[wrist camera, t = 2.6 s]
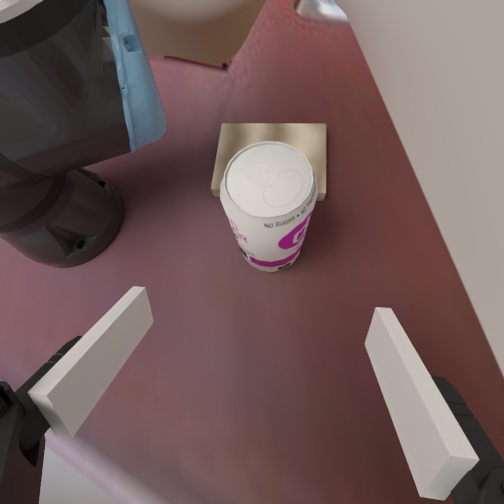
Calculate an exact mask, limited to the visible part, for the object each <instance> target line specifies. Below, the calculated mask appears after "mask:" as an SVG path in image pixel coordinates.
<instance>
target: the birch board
mask: <svg viewBox="0 0 504 504" xmlns="http://www.w3.org/2000/svg"><path fill="white" fill-rule="evenodd" d="M264 141H274V142H282V143H285V144H288V145H290V146H293V147H295V148H296V149H297V150H299V151H300V152H301V153H302V154H304V155H305V156H306V158H307V160H308V162H309V163H310V165H311V167H312V171H313V172H314V174H315V176H316V178H317V186H318V195H317V198H316V201H323V200H324V198H325V195H326V124H297V123H222V126H221V132H220V138H219V144H218V149H217V155H216V161H215V167H214V173H213V178H212V184H211V191H212V193H213V196H214V197H220V184H221V182H222V179H223V177H224V172H225V170H226V168H227V165H228V163H229V161H230V160H231V159H232V158H233V157H234V156H235V155H236V154H237V153H238V152H239V151H240V150H242V149H244V148H246V147H247V146H249V145H251V144H255V143H259V142H264Z"/></svg>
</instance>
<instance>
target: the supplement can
mask: <svg viewBox="0 0 504 504" xmlns="http://www.w3.org/2000/svg"><path fill="white" fill-rule="evenodd" d="M317 195H318V186H317V178H316V176H315V174H314V172H313V171H312V167H311V165H310V163H309V162H308V160H307V158H306V156H305V155H304V154H302V153H301V152H300V151H299V150H297V149H296V148H295V147H293V146H290V145H288V144H285V143H282V142H274V141H264V142H259V143H255V144H251V145H249V146H247V147H246V148H244V149H242V150H240V151H239V152H238V153H237V154H236V155H235V156H234V157H233V158H232V159H231V160H230V161H229V163H228V165H227V168H226V170H225V172H224V177H223V179H222V182H221V184H220V200H221V202H222V205H223V208H224V210H225V213H226V215H227V217H228V220H229V222H230V225H231V227H232V230H233V232H234V235H235V237H236V239H237V242H238V244H239V247H240V249H241V252H242V254H243V256H244V258H245V259H246V261H247V262H248V263H249V264H250V265H251V266H253V267H255V268H257V269H259V270H261V271H267V272H275V271H279V270H283V269H285V268H286V267H288V266H290V265H291V264H293V262H294V261H295V260H296V258H297V257H298V256H299V253H300V250H301V247H302V243H303V240H304V237H305V234H306V231H307V228H308V224H309V221H310V218H311V215H312V212H313V208H314V205H315V202H316V198H317Z"/></svg>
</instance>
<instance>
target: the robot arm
mask: <svg viewBox="0 0 504 504" xmlns="http://www.w3.org/2000/svg"><path fill="white" fill-rule="evenodd" d="M166 128H167V121H166V116H165V112H164V109H163V105H162V102H161V98H160V95H159V92H158V88H157V85H156V82H155V79H154V75H153V72H152V69H151V66H150V63H149V60H148V57H147V54H146V51H145V47H144V44H143V41H142V38H141V35H140V32H139V29H138V26H137V23H136V20H135V17H134V14H133V11H132V8H131V6H130V3H129V0H0V237H1V238H2V239H4V240H5V241H6V242H8V243H9V244H10V245H12V246H13V247H14V248H16V249H17V250H18V251H20V252H21V253H22V254H24V255H25V256H26V257H28V258H30V259H32V260H34V261H36V262H39V263H43V264H46V265H49V266H53V267H71V266H75V265H79V264H81V263H84V262H86V261H88V260H90V259H92V258H93V257H95V256H96V255H98V254H99V253H100V252H101V251H103V250H104V249H105V248H106V247H107V246H108V244H109V243H110V242H111V241H112V239H113V238H114V236H115V235H116V233H117V231H118V229H119V227H120V224H121V221H122V216H123V204H122V199H121V197H120V194H119V193H118V191H117V190H116V189H115V187H114V186H112V185H111V184H110V183H109V182H108V181H107V180H106V179H105V178H103V177H102V176H100V175H99V174H97V173H95V172H93V171H90V170H88V169H86V168H83V167H85V166H88V165H92V164H95V163H98V162H101V161H104V160H107V159H110V158H113V157H116V156H119V155H122V154H125V153H128V152H132V153H134V152H135V151H136V150H137V149H138V148H140V147H143V146H145V145H148V144H150V143H153V142H155V141H158V140H159V139H161V138H162V137H163V136H164V134H165V132H166ZM152 324H153V317H152V313H151V309H150V304H149V300H148V296H147V292H146V287H138V286H133V287H132V288H131V289H130V290H129V291H128V292H127V293H126V294H125V295H124V296H123V297H122V298H121V299H120V300H119V301H118V302H117V303H116V304H115V305H114V306H113V307H112V308H111V309H110V310H109V311H108V312H107V313H106V314H105V315H104V316H103V317H102V318H101V319H100V320H99V321H98V322H97V323H96V324H95V325H94V326H93V327H92V328H91V329H90V330H89V331H88V332H87V333H86V334H85V335H84V336H77V337H76V338H74V339H72V340H71V341H69V342H68V343H66V344H65V345H64V346H63V347H62V348H61V349H60V350H59V351H58V352H57V353H56V355H53V356H52V357H51V358H50V359H49V360H48V362H47V363H45V364H44V365H43V366H42V367H41V368H40V369H39V370H38V371H37V372H36V373H35V374H34V375H33V376H31V377H30V378H29V379H28V380H27V381H26V382H25V383H24V384H23V385H22V386H21V387H20V388H19V389H18V390H17V391H16V392H15V393H14V391H13V390H12V388H11V387H10V385H9V384H8V383H6V382H5V381H0V504H39V496H40V486H41V477H42V468H43V459H44V450H45V436H44V434H45V432H46V431H47V430H48V429H49V427H51V429H52V430H53V432H54V433H55V435H59V436H65V437H71V438H73V436H74V435H75V433H76V432H77V431H78V429H79V428H80V426H81V425H82V423H83V422H84V421H85V419H86V418H87V416H88V415H89V414H90V412H91V411H92V409H93V408H94V406H95V405H96V404H97V402H98V401H99V399H100V398H101V396H102V395H103V394H104V392H105V391H106V389H107V388H108V386H109V385H110V384H111V382H112V381H113V379H114V378H115V376H116V375H117V374H118V372H119V371H120V369H121V368H122V367H123V365H124V364H125V362H126V361H127V359H128V358H129V357H130V355H131V354H132V352H133V351H134V349H135V348H136V347H137V345H138V344H139V342H140V341H141V339H142V338H143V337H144V335H145V334H146V332H147V331H148V330H149V328H150V327H151V325H152ZM365 347H366V349H367V352H368V355H369V358H370V360H371V363H372V366H373V369H374V371H375V374H376V377H377V380H378V382H379V385H380V388H381V391H382V393H383V396H384V399H385V402H386V404H387V407H388V410H389V413H390V415H391V418H392V421H393V424H394V427H395V429H396V432H397V435H398V438H399V440H400V443H401V446H402V449H403V451H404V454H405V457H406V460H407V462H408V465H409V468H410V471H411V473H412V476H413V479H414V482H415V484H416V487H417V490H418V493H419V495H420V497H425V498H431V499H437V500H443V501H444V500H445V499H446V498H447V497H448V496H449V495H450V493H451V494H452V496H453V498H454V500H455V503H456V504H504V461H503V459H502V458H501V456H500V455H499V453H498V452H497V450H496V449H495V447H494V446H493V444H492V443H491V441H490V440H489V438H488V436H487V435H486V433H485V432H484V430H483V429H482V427H481V426H480V424H479V423H478V421H477V420H476V419H475V418H474V415H473V414H472V412H471V411H470V409H469V408H468V407H467V406H466V403H465V401H464V400H463V398H462V397H461V395H460V394H459V392H458V391H457V390H456V389H455V388H454V387H453V386H452V385H451V384H450V383H449V382H448V381H447V380H446V379H445V378H444V377H435V376H430V374H429V373H428V371H427V369H426V367H425V366H424V364H423V362H422V361H421V359H420V357H419V355H418V354H417V352H416V350H415V349H414V347H413V345H412V344H411V342H410V340H409V338H408V337H407V335H406V333H405V332H404V330H403V328H402V326H401V325H400V323H399V321H398V320H397V318H396V316H395V314H394V313H393V311H392V309H391V308H381V307H376V308H375V311H374V315H373V318H372V321H371V325H370V328H369V331H368V335H367V338H366V341H365Z"/></svg>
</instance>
